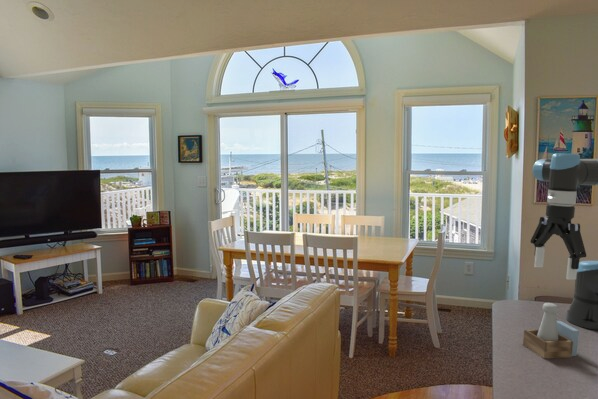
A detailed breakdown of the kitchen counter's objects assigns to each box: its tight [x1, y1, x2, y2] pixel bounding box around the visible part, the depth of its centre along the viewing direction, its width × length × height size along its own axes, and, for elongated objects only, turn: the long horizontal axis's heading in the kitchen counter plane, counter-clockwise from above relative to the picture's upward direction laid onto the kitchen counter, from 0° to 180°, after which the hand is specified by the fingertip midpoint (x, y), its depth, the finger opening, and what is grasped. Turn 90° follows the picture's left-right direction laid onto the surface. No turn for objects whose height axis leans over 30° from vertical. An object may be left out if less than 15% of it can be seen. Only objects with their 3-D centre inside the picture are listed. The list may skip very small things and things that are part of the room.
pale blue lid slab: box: [557, 320, 580, 357], centre depth 142 cm, size 2×8×8 cm, turn 10°
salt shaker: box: [537, 302, 560, 341], centre depth 141 cm, size 6×6×13 cm
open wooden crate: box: [522, 328, 573, 359], centre depth 142 cm, size 10×10×5 cm
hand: (554, 273), depth 140 cm, fingers open, 13 cm apart
